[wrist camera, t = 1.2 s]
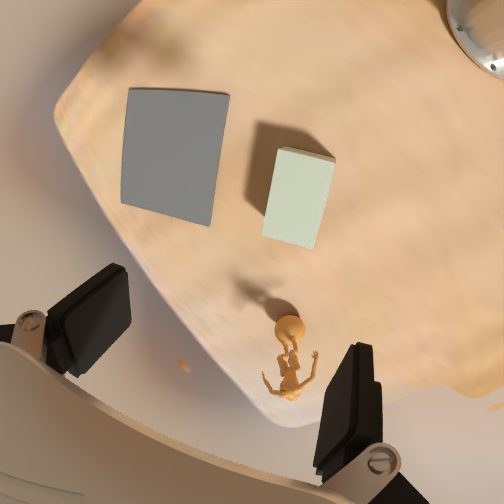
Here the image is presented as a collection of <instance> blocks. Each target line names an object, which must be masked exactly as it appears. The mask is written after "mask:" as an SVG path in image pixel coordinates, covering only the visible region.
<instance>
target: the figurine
mask: <svg viewBox="0 0 504 504" xmlns="http://www.w3.org/2000/svg"><path fill="white" fill-rule="evenodd" d="M304 334H305V326H304V323H303V322H302V320H301V319H300V318H298V317H296V316H293V315H287V316H284V317H282V318H280V319H279V320H278V322H277V323H276V325H275V335H276V338H277V339H278V340H279V341H280V342H281V343H282V344H283V346H284V350H285V354H282V355H279V356H278V357H277V361H278V363H279V366H280V375H281V376H282V377H284V376H285V377H284V379H283V381H282V382H281V384H280V391H279V390H272V387H271V386H270V384H269V382H268V381H267V380H266V379H265V377H264V374H263V372H262V375H263V380H264V383H265V385H266V386H267V387H268V389H269V392H270V393H271V394H273V395H278V396H280V397H283V398H286V399H288V400H290V401H294V400H297V399H298V398H299V397H300V394H301V391H302V390H303V389H304V388H305V387H306V386H307V385H308V384H310V383H311V382H312V381H313V380H314V378H315V372H316V366H317V360H318V351H317V352H316V351H315V352H316V354H315V353H314V351H313V353H314V356H313V355H312V357H313V358H314V362H313V365H312V372H311V376H310V378H308V379H306V380H305V381H304V382H302V383H301V384H299V383H298V380H297V377H296V372H297V371H299V370H300V365H299V363H298V359H297V356H296V355H297V354H298V348H297V343H298V342H300V341H301V340H302V338H303V336H304ZM288 345H293V347H294V350H291V351H290V352H289V351H288ZM288 355H289V359H288V363H289V365H290V366H291V367H288V364H287V362H286V361H284V359H287V358H288Z"/></svg>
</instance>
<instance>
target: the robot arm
mask: <svg viewBox="0 0 504 504" xmlns="http://www.w3.org/2000/svg"><path fill="white" fill-rule="evenodd" d="M446 15H447V20H448V23H449V26H450V29H451V31H452V33H453V35H454V37H455V39H456V40H457V42H458V43H459V45H460V47H461V48H462V49H463V50H464V52H465V53H466V54H467V55H468V56H469V57H470V59H471V60H472V61H473V62H474V63H475V64H477V65H478V66H479V67H480V68H481V69H483V70H484V71H486V72H487V73H489V74H490V75H492V76H494V77H497V78H499V79H503V80H504V0H447V1H446ZM457 29H458V30H457ZM47 313H48V316H46V317H45V315H44V314H43V313H42V312H41V311H38V310H30V311H27V312H24V313H23V314H21V315H20V316H19V317H18V319H17V321H16V324H8V325H0V504H429V502H428V501H427V500H426V499H425V498H424V497H423V496H422V495H421V494H420V493H419V492H418V491H417V490H416V489H415V488H414V487H413V486H412V485H411V484H410V483H409V482H408V481H407V480H406V478H405V477H404V476H403V475H402V474H401V473H400V472H399V470H400V467H401V457H400V455H399V453H398V451H397V450H396V449H395V448H394V447H392V446H391V445H389V444H386V443H383V414H382V387H381V383H380V382H376V381H374V365H373V348H372V345H369V344H365V343H361V342H357V343H356V345H353V344H352V345H351V346H350V347H349V349H348V351H347V353H346V355H345V357H344V359H343V360H342V362H341V364H340V366H339V368H338V369H337V371H336V373H335V375H334V377H333V378H332V380H331V382H330V383H329V385H328V387H327V389H326V392H325V396H324V403H323V410H322V416H321V422H320V429H319V435H318V440H317V445H316V451H315V456H314V461H313V467H316V468H317V470H316V475H321V476H322V483H323V484H322V485H321V486H316V485H312V484H310V483H306V482H302V481H298V480H294V479H290V478H287V477H283V476H279V475H275V474H272V473H268V472H264V471H261V470H257V469H254V468H250V467H248V466H244V465H241V464H238V463H235V462H232V461H229V460H226V459H223V458H220V457H217V456H215V455H212V454H209V453H206V452H204V451H201V450H199V449H196V448H194V447H191V446H188V445H186V444H184V443H182V442H179V441H177V440H175V439H173V438H170V437H168V436H166V435H164V434H161V433H159V432H157V431H155V430H153V429H151V428H149V427H147V426H145V425H143V424H141V423H139V422H137V421H135V420H133V419H131V418H130V417H128V416H126V415H124V414H122V413H121V412H119V411H117V410H115V409H114V408H112V407H110V406H108V405H106V404H105V403H103V402H102V401H100V400H98V399H97V398H95V397H94V396H92V395H90V394H88V393H87V392H86V391H84V390H83V389H81V388H79V387H78V386H77V385H75V384H74V383H72V382H71V381H69V380H68V379H66V378H65V373H66V372H67V371H68V372H69V373H70V374H72V375H73V376H75V377H77V378H78V377H79V376H80V375H81V374H85V373H86V372H87V371H88V370H89V369H90V368H91V367H92V365H93V364H94V363H95V362H96V361H97V360H98V359H99V358H100V357H101V356H102V354H104V353H105V351H106V350H107V349H108V348H109V347H110V346H111V345H112V344H113V343H114V342H115V341H116V340H117V339H118V338H119V337H120V336H121V335H122V333H123V332H124V331H125V330H126V329H127V328H128V327H129V326H130V324H131V309H130V299H129V286H128V273H127V272H126V270H125V268H124V267H123V266H120V265H118V264H115V263H111V264H109V265H108V266H106V267H105V268H104V269H102V270H101V271H100V272H98V273H97V274H95V275H94V276H93V277H91V278H90V279H88V280H87V281H86V282H84V283H83V284H82V285H80V286H79V287H78V288H76V289H75V290H74V291H72V292H71V293H70V294H68V295H67V296H66V297H65V298H63V299H62V300H61V301H59V302H58V303H57V304H56V305H54V306H53V307H52V308H50V309H49V310H48V311H47Z"/></svg>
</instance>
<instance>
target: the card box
mask: <svg viewBox="0 0 504 504" xmlns="http://www.w3.org/2000/svg"><path fill="white" fill-rule="evenodd" d="M335 164H336V158H332V157H328V156H324V155H321V154H317V153H313V152H309V151H305V150H300V149H296V148H292V147H287V146H285V147H282V148H279V149H278V152H277V157H276V162H275V167H274V172H273V178H272V183H271V188H270V193H269V198H268V203H267V208H266V213H265V218H264V223H263V228H262V233H261V235H262V236H266V237H270V238H273V239H277V240H280V241H284V242H288V243H291V244H295V245H298V246H302V247H305V248H309V249H312V250H313V248H314V244H315V241H316V237H317V233H318V230H319V226H320V223H321V219H322V215H323V211H324V208H325V204H326V200H327V196H328V192H329V188H330V184H331V180H332V176H333V172H334V168H335Z"/></svg>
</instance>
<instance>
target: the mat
mask: <svg viewBox="0 0 504 504" xmlns="http://www.w3.org/2000/svg"><path fill="white" fill-rule="evenodd" d="M229 99H230V96H229V95H222V94H212V93H202V92H190V91H174V90H129V94H128V102H127V110H126V119H125V130H124V142H123V156H122V176H121V203H124V204H128V205H131V206H135V207H139V208H142V209H146V210H150V211H153V212H157V213H161V214H164V215H168V216H171V217H175V218H179V219H182V220H186V221H189V222H193V223H196V224H200V225H204V226H207V227H209V226H210V223H211V216H212V208H213V201H214V193H215V186H216V179H217V172H218V166H219V159H220V153H221V146H222V140H223V134H224V128H225V122H226V116H227V110H228V104H229Z"/></svg>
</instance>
